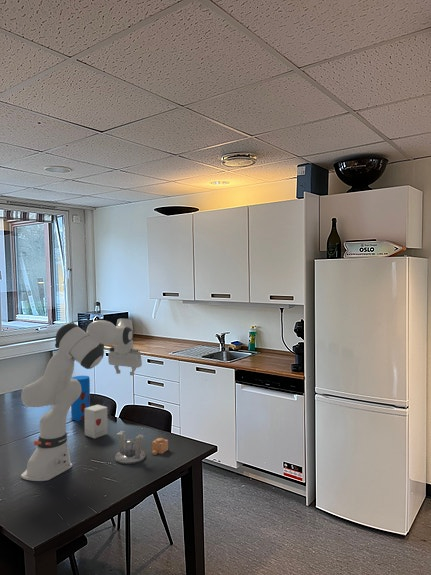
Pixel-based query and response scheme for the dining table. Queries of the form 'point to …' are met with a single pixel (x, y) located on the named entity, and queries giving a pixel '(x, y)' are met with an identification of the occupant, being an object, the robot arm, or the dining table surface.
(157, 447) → the orange lumpy block
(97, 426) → the supplement box
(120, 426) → the dining table surface
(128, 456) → the pronged peg stand
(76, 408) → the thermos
